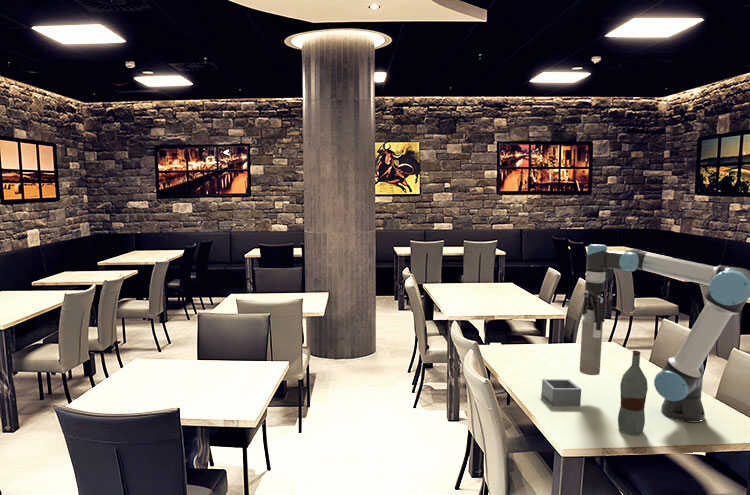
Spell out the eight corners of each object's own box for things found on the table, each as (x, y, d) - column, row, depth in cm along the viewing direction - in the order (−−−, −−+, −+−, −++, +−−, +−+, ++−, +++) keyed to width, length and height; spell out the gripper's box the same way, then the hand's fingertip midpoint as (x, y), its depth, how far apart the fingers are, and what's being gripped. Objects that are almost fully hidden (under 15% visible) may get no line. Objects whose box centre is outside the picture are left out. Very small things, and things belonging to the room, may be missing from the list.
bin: (580, 405, 224) (581, 389, 224) (551, 405, 224) (552, 389, 223) (568, 395, 236) (569, 379, 236) (541, 394, 236) (542, 379, 235)
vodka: (616, 423, 208) (622, 346, 205) (643, 427, 205) (649, 349, 202) (617, 432, 199) (623, 353, 196) (645, 437, 196) (651, 356, 193)
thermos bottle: (576, 369, 234) (580, 305, 231) (594, 369, 234) (598, 305, 232) (584, 375, 226) (588, 309, 223) (603, 375, 226) (607, 309, 224)
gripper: (575, 277, 237) (572, 328, 239) (597, 285, 216) (594, 341, 218) (592, 277, 237) (589, 328, 239) (616, 285, 216) (612, 341, 218)
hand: (591, 334), depth 229 cm, fingers closed on thermos bottle, 8 cm apart
